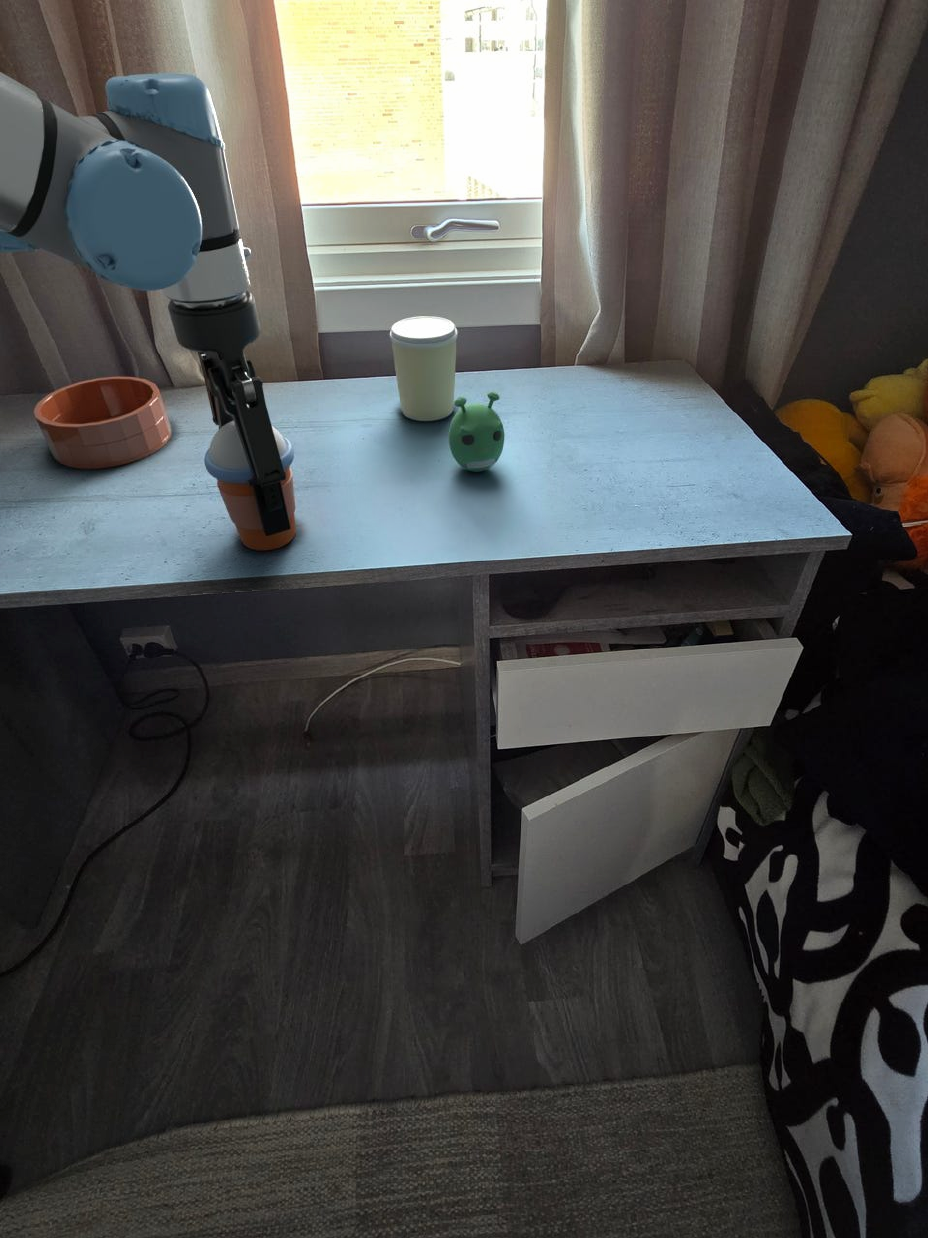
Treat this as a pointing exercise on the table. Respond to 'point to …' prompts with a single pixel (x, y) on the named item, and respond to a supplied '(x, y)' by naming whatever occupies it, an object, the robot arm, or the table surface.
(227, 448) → the cup with straw
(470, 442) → the alien toy
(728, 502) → the table surface
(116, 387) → the bowl
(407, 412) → the coffee cup
